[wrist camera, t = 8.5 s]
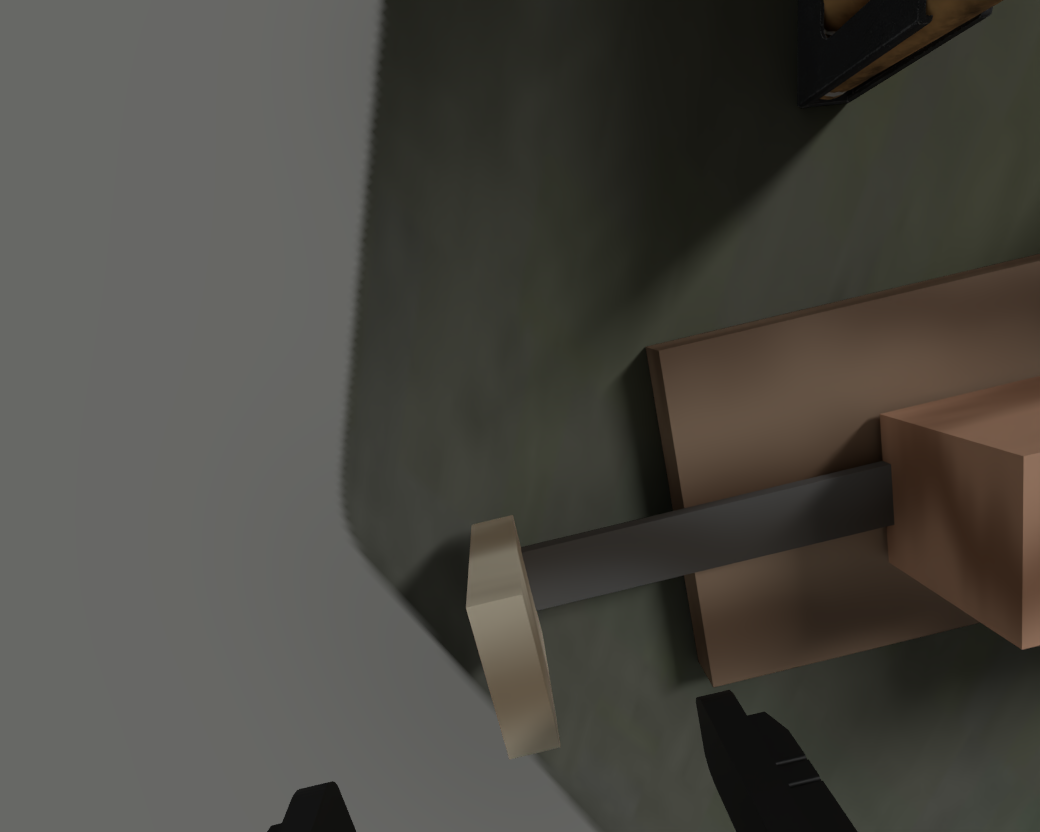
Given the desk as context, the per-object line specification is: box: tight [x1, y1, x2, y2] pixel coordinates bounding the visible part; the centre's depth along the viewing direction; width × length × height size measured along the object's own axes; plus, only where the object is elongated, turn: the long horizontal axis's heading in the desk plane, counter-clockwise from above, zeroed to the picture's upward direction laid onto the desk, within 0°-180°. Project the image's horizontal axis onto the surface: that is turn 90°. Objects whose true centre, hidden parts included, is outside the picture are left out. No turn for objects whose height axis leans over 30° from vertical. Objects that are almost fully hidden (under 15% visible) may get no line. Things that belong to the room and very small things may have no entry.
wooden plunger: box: [466, 376, 1040, 759], centre depth 16 cm, size 6×21×5 cm, turn 103°
